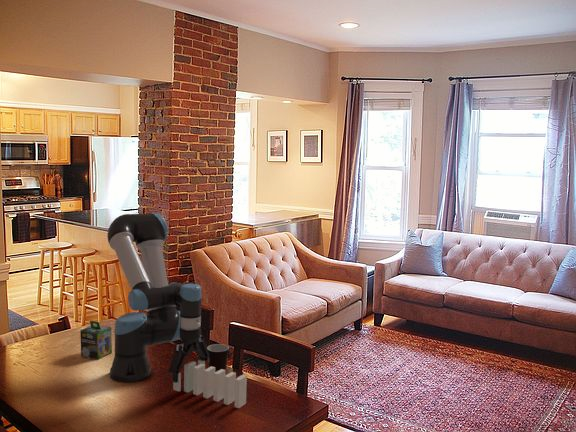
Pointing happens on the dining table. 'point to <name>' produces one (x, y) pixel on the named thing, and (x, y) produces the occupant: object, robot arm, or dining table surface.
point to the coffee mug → (218, 356)
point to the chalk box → (96, 341)
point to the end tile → (189, 376)
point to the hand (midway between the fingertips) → (189, 383)
